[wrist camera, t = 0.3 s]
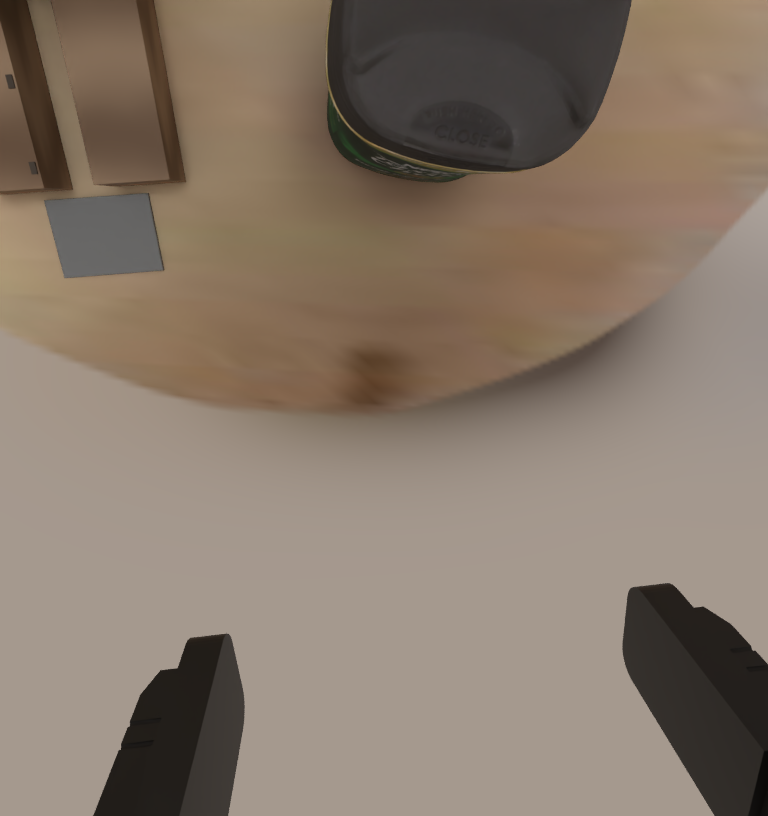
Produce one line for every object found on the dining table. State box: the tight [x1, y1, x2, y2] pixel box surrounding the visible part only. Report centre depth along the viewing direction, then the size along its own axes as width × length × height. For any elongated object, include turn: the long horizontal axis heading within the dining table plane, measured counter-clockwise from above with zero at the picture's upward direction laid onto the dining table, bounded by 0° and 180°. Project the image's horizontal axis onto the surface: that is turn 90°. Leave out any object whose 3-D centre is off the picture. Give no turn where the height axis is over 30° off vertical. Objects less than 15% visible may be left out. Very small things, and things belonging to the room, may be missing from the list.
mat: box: [44, 193, 164, 278], centre depth 34 cm, size 4×6×1 cm
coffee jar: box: [325, 0, 631, 182], centre depth 24 cm, size 10×8×19 cm
